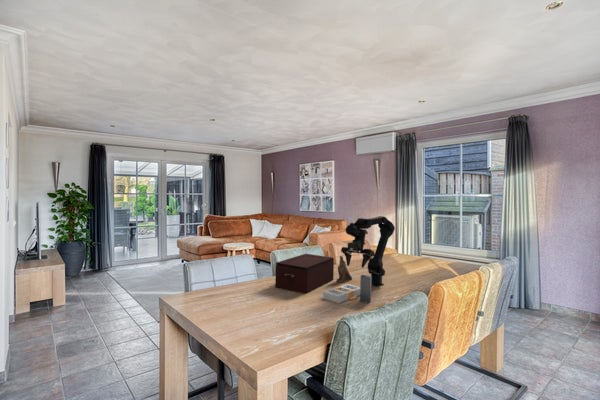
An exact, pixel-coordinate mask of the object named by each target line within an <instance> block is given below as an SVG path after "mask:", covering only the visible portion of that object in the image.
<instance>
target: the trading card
mask: <svg viewBox="0 0 600 400" xmlns="http://www.w3.org/2000/svg"><path fill="white" fill-rule="evenodd" d="M334 306H335V307H336V308H338V309H341V307H339V306H337V305H332V306H330V307H328V308H327V309H324V310H322V311H320V312H318V313H317V314H316V315H314V316H313V318H314V319H317V318H318V320H321V321H324V322H328V321H329V323H331V324H334V323H336V322H338V321H339V320H340V318H338V319H337V320H335V321H331V320H326V319H322V318H319V317H317V316H318V314H319V315H321V314H322V313H324V312H325V311H328V310H330V309H331V308H333V307H334ZM342 308H343V307H342ZM346 309H347V311H349V312H348V313H349V314H350V313H352V312H353V310H350V309H348V308H346ZM343 310H345V308H343ZM345 315H346V314H345ZM345 315H343V316H344V317H345Z"/></svg>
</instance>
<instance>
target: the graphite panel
mask: <svg viewBox="0 0 600 400" xmlns="http://www.w3.org/2000/svg"><path fill="white" fill-rule="evenodd" d="M359 284H360V286H359V287H360V295H359V302H362V303H368V304H370V303H371V302H372V284H371V275H366V274H361V275H360V281H359Z"/></svg>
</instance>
